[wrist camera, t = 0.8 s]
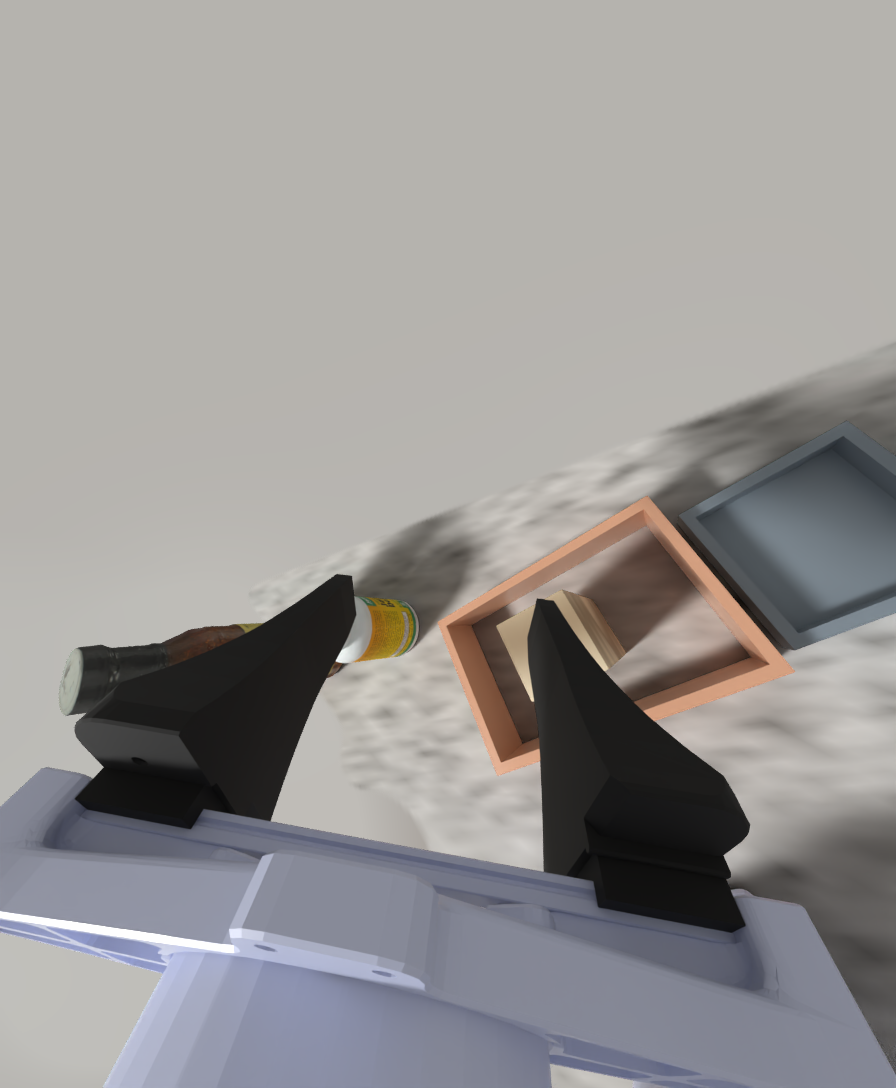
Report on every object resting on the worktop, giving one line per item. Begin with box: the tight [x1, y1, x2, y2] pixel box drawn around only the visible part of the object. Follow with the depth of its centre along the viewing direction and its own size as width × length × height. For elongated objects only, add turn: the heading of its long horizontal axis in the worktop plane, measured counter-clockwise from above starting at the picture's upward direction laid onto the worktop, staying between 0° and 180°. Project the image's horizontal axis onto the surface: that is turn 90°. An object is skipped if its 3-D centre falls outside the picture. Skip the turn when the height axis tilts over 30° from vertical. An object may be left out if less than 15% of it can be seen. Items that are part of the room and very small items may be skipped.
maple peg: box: [496, 590, 626, 702], centre depth 20 cm, size 4×4×9 cm
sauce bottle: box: [59, 623, 342, 716], centre depth 29 cm, size 7×6×20 cm
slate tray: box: [677, 421, 896, 650], centre depth 18 cm, size 9×9×2 cm
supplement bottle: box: [336, 596, 419, 663], centre depth 29 cm, size 5×5×10 cm
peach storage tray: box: [438, 496, 795, 776], centre depth 22 cm, size 11×17×4 cm, turn 116°
